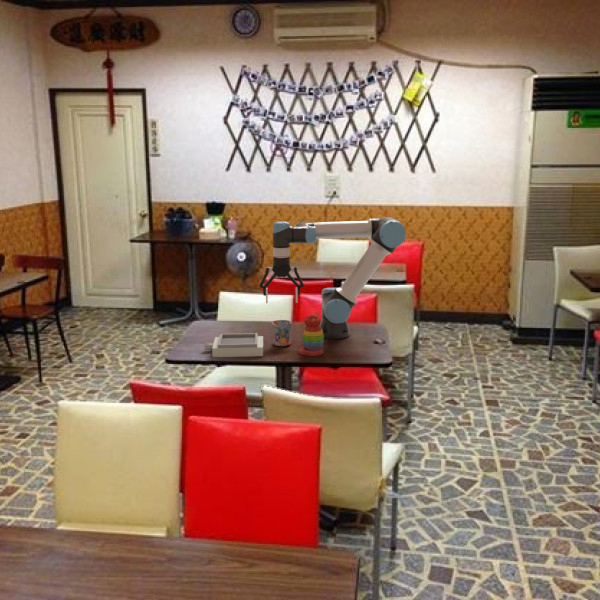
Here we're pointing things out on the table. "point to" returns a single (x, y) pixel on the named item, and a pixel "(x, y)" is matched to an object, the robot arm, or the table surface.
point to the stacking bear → (312, 336)
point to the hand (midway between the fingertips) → (281, 302)
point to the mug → (281, 332)
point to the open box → (236, 345)
